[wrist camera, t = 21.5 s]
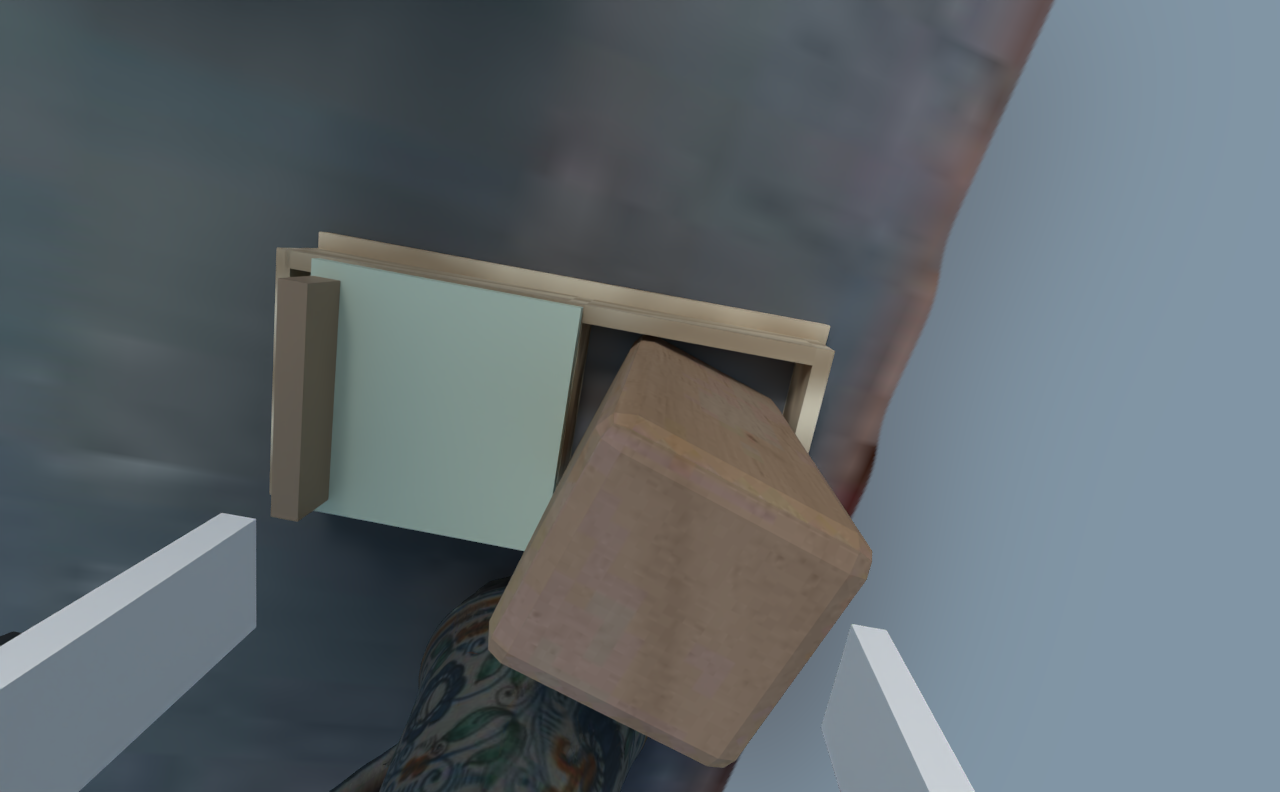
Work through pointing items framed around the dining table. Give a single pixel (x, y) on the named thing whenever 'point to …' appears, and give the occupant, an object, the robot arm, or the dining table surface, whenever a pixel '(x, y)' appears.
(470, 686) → the beer stein
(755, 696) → the wooden block
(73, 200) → the dining table surface
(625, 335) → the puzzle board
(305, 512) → the lid
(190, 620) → the robot arm
